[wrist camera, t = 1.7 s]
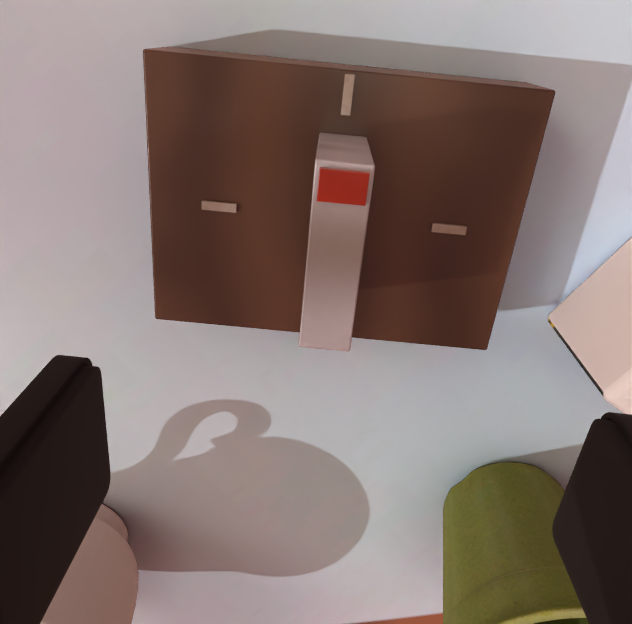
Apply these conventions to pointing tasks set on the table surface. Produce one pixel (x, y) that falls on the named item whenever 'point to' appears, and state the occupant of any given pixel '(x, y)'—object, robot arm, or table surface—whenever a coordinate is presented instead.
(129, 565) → the teacup
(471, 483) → the plant pot
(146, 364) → the table surface
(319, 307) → the tap handle
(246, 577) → the table surface
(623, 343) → the medicine bottle
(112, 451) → the table surface
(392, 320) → the tap base
